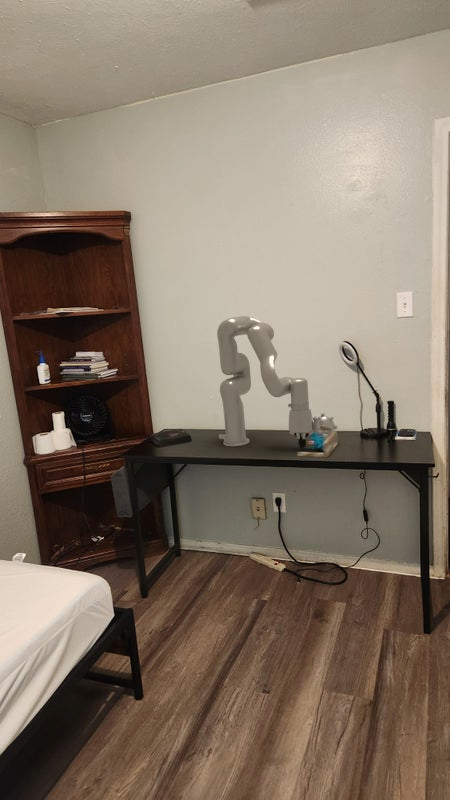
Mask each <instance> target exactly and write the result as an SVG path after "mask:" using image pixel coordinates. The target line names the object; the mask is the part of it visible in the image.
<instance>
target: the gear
mask: <svg viewBox="0 0 450 800" xmlns="http://www.w3.org/2000/svg"><path fill="white" fill-rule="evenodd" d="M312 418H313V431H314V433H318V436H320V435H321V436H322V439H324V438H326V439H327V438H328V437H329V436H330V434H331V433H332V432H333V431H336V430H338V428H339V427H338V425H335V423H334V419H335V418H334V417H333V416H331V417H329V416H326V415H325V412H324V413H321V414H320V416H318V417H317V416H314V417H312Z"/></svg>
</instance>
